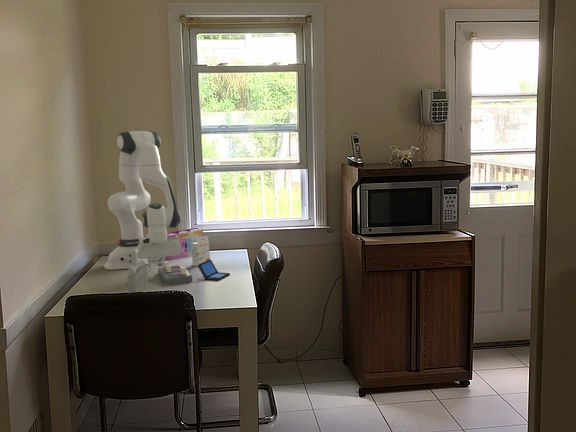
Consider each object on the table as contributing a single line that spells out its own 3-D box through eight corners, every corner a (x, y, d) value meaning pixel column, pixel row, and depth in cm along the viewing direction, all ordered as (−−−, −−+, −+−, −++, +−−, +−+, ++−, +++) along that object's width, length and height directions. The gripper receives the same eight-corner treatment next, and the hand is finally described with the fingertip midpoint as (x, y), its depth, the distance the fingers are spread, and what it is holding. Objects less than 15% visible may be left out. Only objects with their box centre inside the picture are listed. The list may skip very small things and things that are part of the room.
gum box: (198, 250, 344) (197, 227, 342) (206, 252, 338) (205, 228, 336) (163, 257, 327) (161, 233, 325) (171, 259, 321) (169, 235, 319)
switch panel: (166, 285, 269) (165, 278, 268) (158, 273, 291) (157, 267, 290) (192, 281, 273) (191, 275, 272) (182, 270, 295) (182, 264, 295)
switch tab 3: (182, 274, 273) (181, 268, 273) (180, 273, 276) (180, 267, 276) (186, 274, 274) (185, 267, 273) (185, 272, 277) (184, 266, 276)
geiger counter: (137, 258, 261) (119, 272, 237) (151, 258, 261) (135, 271, 237) (140, 289, 264) (122, 306, 239) (154, 288, 263) (138, 305, 239)
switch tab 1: (164, 268, 286) (164, 262, 286) (163, 267, 289) (163, 261, 289) (168, 268, 287) (168, 262, 286) (167, 267, 290) (167, 261, 289)
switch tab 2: (167, 272, 279) (166, 266, 278) (166, 271, 282) (165, 264, 281) (171, 271, 279) (171, 265, 279) (170, 270, 282) (170, 264, 282)
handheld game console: (218, 282, 272) (217, 266, 271) (198, 280, 276) (197, 264, 275) (231, 275, 284) (230, 260, 283) (211, 274, 288) (210, 259, 287)
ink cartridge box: (203, 262, 313) (202, 234, 311) (210, 263, 310) (208, 235, 308) (191, 265, 306) (190, 237, 304) (198, 266, 303) (196, 238, 301)
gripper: (178, 234, 291) (180, 262, 293) (135, 238, 284) (137, 267, 286) (180, 236, 285) (182, 264, 287) (137, 241, 278) (139, 269, 280)
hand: (160, 266), depth 287 cm, fingers closed
